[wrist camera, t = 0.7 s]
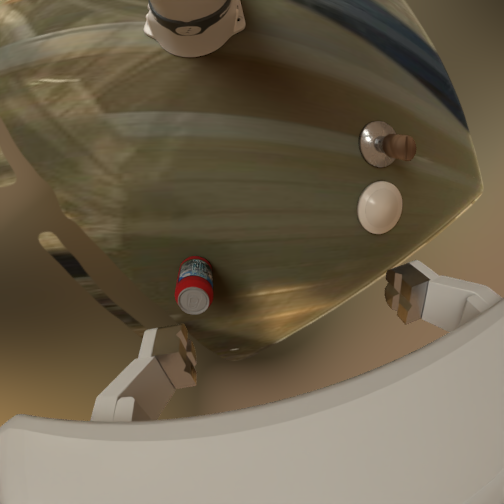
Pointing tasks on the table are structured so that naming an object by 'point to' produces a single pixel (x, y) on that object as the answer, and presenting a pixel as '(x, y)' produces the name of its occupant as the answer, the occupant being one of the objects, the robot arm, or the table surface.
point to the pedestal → (375, 143)
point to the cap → (399, 146)
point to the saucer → (379, 207)
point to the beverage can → (194, 285)
